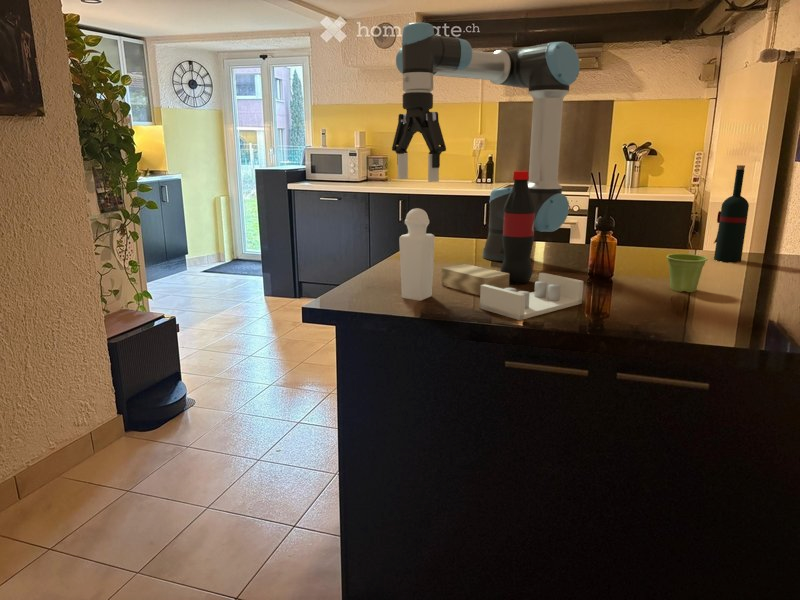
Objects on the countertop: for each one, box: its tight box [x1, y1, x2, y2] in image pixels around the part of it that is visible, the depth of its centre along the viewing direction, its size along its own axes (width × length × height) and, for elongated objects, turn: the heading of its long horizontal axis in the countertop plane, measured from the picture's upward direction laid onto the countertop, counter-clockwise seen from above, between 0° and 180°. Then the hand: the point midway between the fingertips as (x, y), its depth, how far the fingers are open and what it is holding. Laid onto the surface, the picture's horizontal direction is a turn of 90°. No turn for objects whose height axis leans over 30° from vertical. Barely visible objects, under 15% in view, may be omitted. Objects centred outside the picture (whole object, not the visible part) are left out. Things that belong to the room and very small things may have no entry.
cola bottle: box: [500, 170, 536, 285], centre depth 157 cm, size 8×8×30 cm
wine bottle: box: [713, 164, 750, 264], centre depth 186 cm, size 8×10×30 cm
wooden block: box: [441, 263, 510, 296], centre depth 154 cm, size 16×9×5 cm, turn 38°
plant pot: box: [666, 253, 708, 293], centre depth 150 cm, size 9×9×9 cm
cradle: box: [479, 272, 584, 321], centre depth 136 cm, size 22×12×6 cm, turn 127°
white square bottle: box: [398, 207, 436, 302], centre depth 142 cm, size 6×6×22 cm
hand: (417, 180), depth 149 cm, fingers open, 13 cm apart
